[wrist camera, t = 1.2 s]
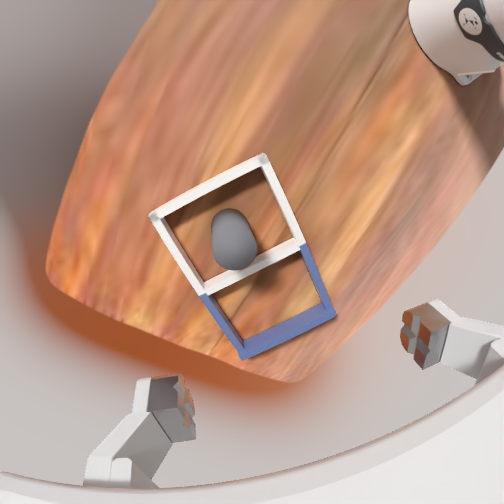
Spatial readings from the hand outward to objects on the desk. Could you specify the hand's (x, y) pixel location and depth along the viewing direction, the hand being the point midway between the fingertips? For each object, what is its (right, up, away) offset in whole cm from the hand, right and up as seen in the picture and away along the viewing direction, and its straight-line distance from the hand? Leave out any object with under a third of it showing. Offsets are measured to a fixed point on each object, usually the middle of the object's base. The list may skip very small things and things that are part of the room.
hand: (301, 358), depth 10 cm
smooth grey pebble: (-4, +7, +28) cm, 29 cm away
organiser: (-2, +2, +30) cm, 30 cm away
